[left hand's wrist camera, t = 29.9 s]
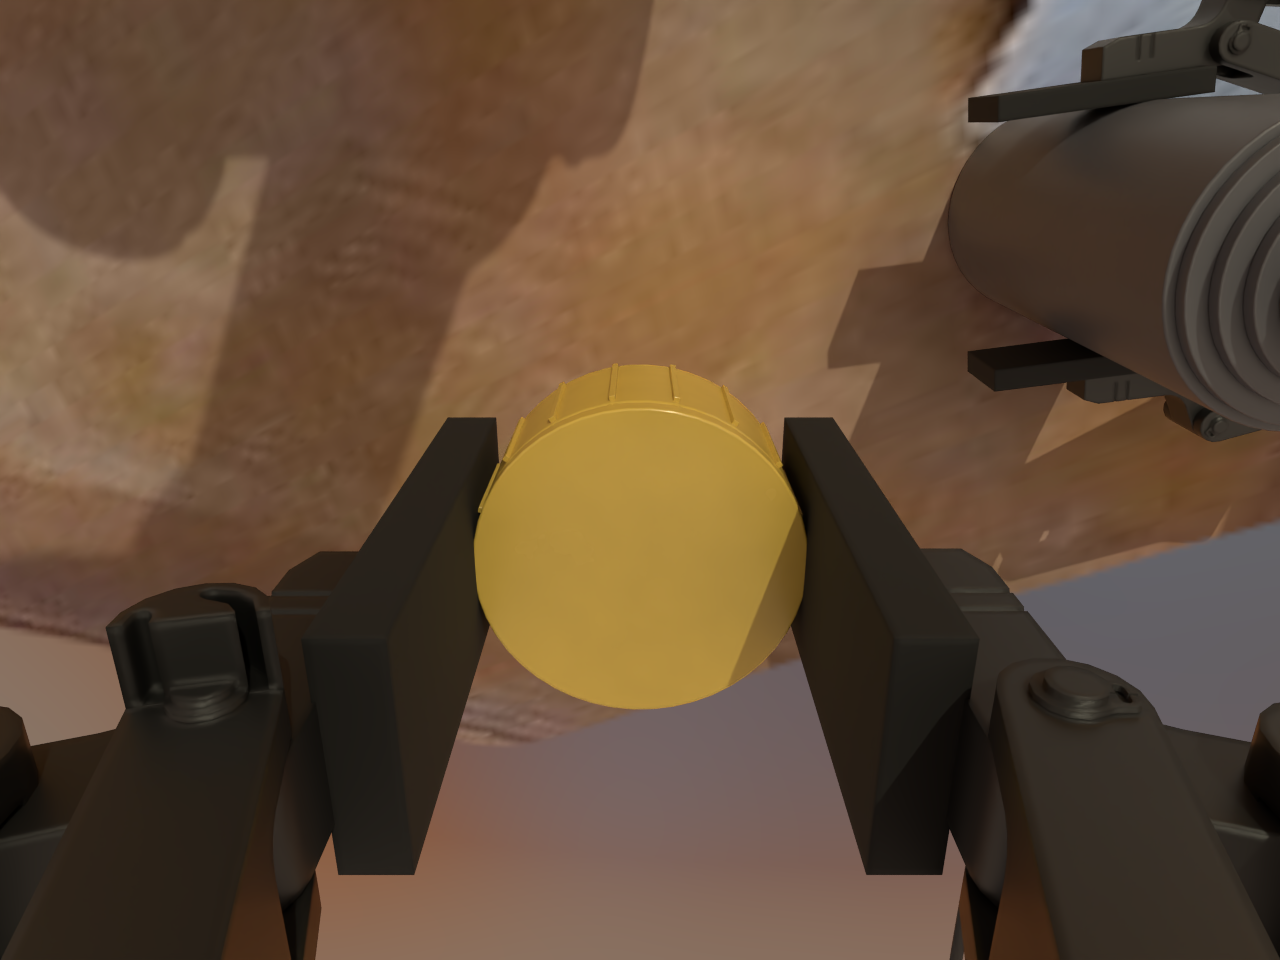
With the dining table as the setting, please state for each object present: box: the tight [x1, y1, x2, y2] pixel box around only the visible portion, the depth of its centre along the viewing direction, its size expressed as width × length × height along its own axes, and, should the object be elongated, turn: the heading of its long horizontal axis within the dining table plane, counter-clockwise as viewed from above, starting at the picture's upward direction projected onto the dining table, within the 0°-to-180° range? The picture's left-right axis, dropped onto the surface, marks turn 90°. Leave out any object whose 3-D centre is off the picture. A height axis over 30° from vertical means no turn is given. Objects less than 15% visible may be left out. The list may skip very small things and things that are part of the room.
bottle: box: [948, 94, 1280, 431], centre depth 26 cm, size 8×8×21 cm
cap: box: [474, 363, 807, 709], centre depth 13 cm, size 5×5×2 cm
